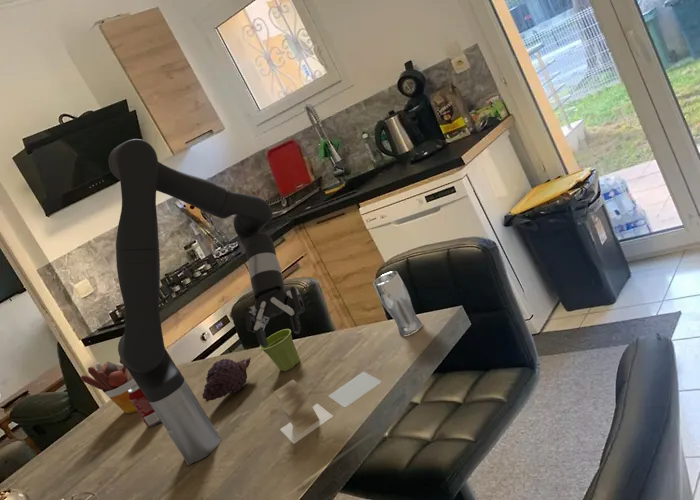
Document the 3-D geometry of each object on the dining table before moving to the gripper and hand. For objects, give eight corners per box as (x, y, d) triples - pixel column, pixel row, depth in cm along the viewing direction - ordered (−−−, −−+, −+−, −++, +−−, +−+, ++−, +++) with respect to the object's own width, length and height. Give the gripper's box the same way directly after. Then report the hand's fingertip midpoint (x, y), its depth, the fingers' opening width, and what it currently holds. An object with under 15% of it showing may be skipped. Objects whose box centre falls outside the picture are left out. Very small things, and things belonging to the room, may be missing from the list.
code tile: (294, 445, 137) (293, 443, 137) (280, 430, 147) (279, 429, 147) (334, 417, 140) (333, 415, 140) (318, 404, 150) (317, 403, 150)
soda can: (163, 423, 185) (140, 388, 182) (143, 431, 187) (121, 396, 184) (172, 410, 192) (151, 376, 189) (154, 417, 193) (132, 384, 191)
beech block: (299, 433, 140) (279, 398, 138) (292, 426, 145) (273, 392, 143) (319, 419, 142) (299, 384, 140) (311, 412, 147) (292, 379, 144)
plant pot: (304, 365, 175) (289, 338, 173) (273, 380, 176) (257, 352, 174) (306, 351, 184) (292, 324, 182) (276, 365, 185) (261, 339, 183)
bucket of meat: (144, 389, 223) (113, 340, 218) (177, 381, 214) (145, 330, 210) (103, 427, 207) (68, 375, 202) (136, 420, 198) (101, 365, 193)
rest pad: (345, 409, 141) (344, 407, 141) (328, 397, 151) (328, 395, 151) (382, 383, 144) (382, 381, 144) (364, 372, 154) (363, 371, 154)
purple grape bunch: (222, 413, 172) (203, 382, 169) (201, 413, 178) (182, 383, 176) (266, 372, 184) (249, 342, 181) (245, 374, 191) (228, 345, 188)
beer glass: (423, 318, 166) (398, 267, 163) (425, 330, 160) (398, 276, 156) (398, 329, 168) (372, 279, 164) (398, 341, 161) (371, 288, 157)
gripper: (232, 283, 156) (245, 347, 149) (284, 260, 152) (300, 324, 145) (248, 291, 162) (262, 353, 155) (299, 269, 159) (315, 331, 152)
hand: (280, 339), depth 150 cm, fingers open, 8 cm apart
